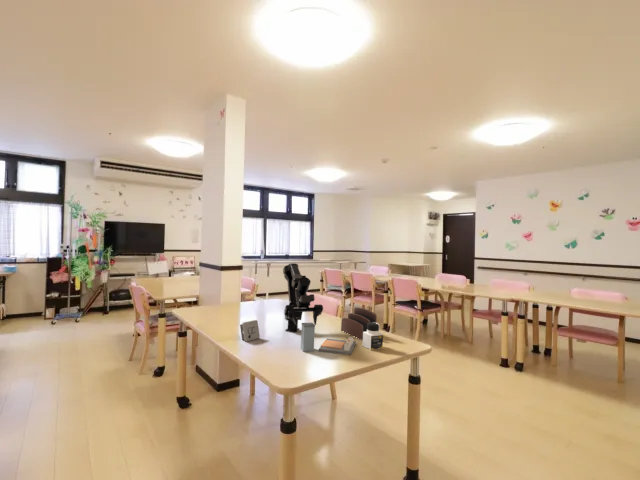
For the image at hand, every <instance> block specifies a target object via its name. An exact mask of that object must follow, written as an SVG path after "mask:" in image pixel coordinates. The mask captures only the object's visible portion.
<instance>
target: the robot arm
mask: <svg viewBox="0 0 640 480" xmlns="http://www.w3.org/2000/svg"><path fill="white" fill-rule="evenodd" d="M282 272H283V277H284V279H285V280H286V282H287V290H288V291H287V292H288V304H286V305H285V307H284V311H283V312H284V313H283V314H284V320H285V321H287V328H286V329H285V330H284V331H285V332H293V333H297V332H299V330H300V328H299V321H302V317H303V313H312V314H313V315H312V318H313V324H314V325H315V326H316V325H317V320H318V317H319V316H321V315H322V313H323V311H324V306H323V305H322V304H320V303H319V304H314V305H313V307H310V306H311V302H315V294H314V293H313V294H311V293H309V294H308V293H307V292H308V291H309V288H310V285H311V279H310V278H308V277H307V276H306V275H302V274H301V271H300V269H299V264H298V263H291V262H290V263H289V264H287V265H285V266H284V267H283V269H282Z"/></svg>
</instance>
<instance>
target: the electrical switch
mask: <svg viewBox="0 0 640 480" xmlns="http://www.w3.org/2000/svg"><path fill="white" fill-rule="evenodd" d="M258 321H259V320H257V319H253V320H250V321H244V322H241V323H242V324H239V326H240V327H239V328H240V334H241V341H244V342H251V341H253V340H257V339H260V337H261V336H260V328H259V322H258Z"/></svg>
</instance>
